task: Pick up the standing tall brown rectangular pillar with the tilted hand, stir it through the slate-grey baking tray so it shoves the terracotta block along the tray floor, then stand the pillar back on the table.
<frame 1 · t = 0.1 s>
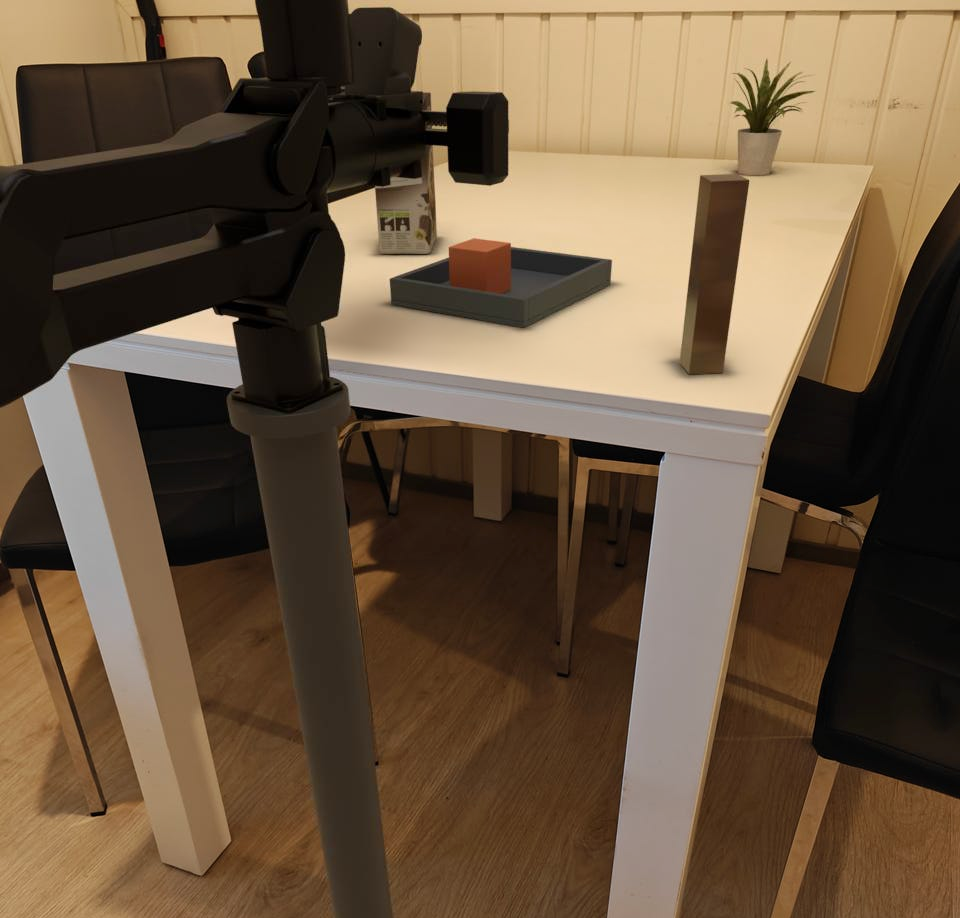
hand: (462, 123, 79), 16 cm above the table, tool horizontal, fingers open, 9 cm apart
house plant: (751, 175, 152), on the table
tray: (503, 294, 93), on the table
tall brown rectangular pillar: (700, 368, 74), on the table
block: (480, 291, 92), resting on tray
coffee box: (409, 248, 112), on the table
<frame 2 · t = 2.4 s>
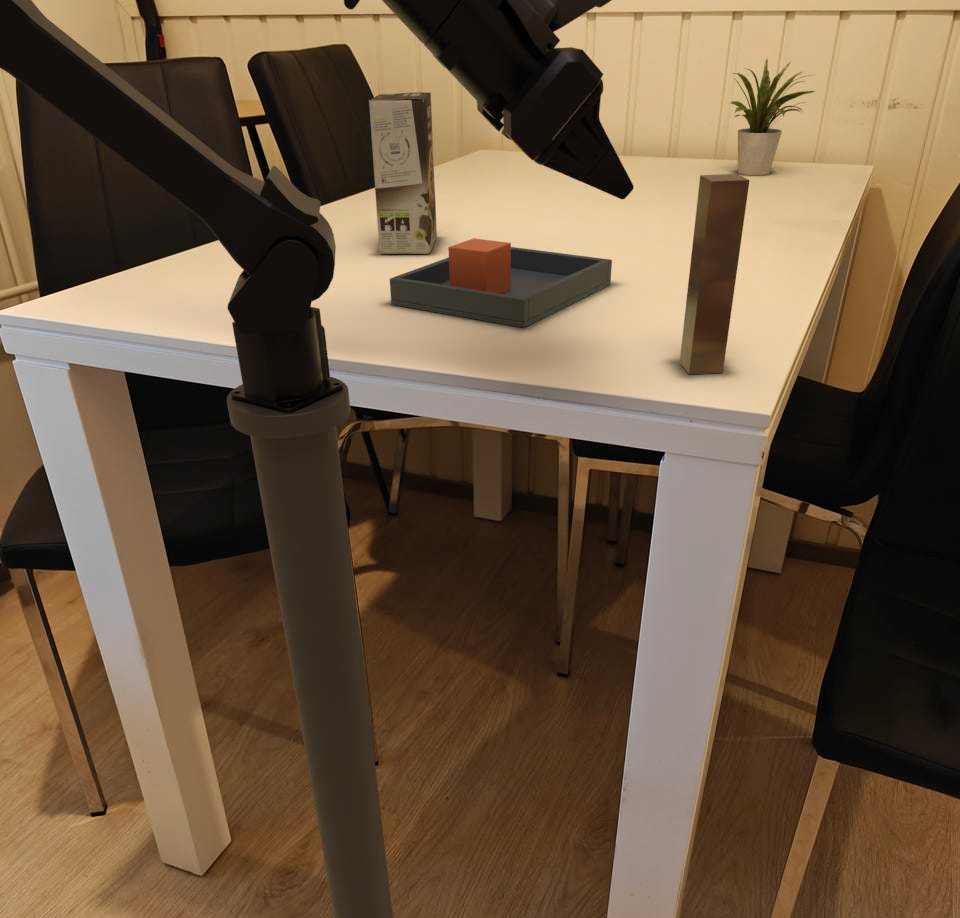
hand: (612, 182, 66), 14 cm above the table, tool tilted 45°, fingers open, 9 cm apart
nothing on the table moved.
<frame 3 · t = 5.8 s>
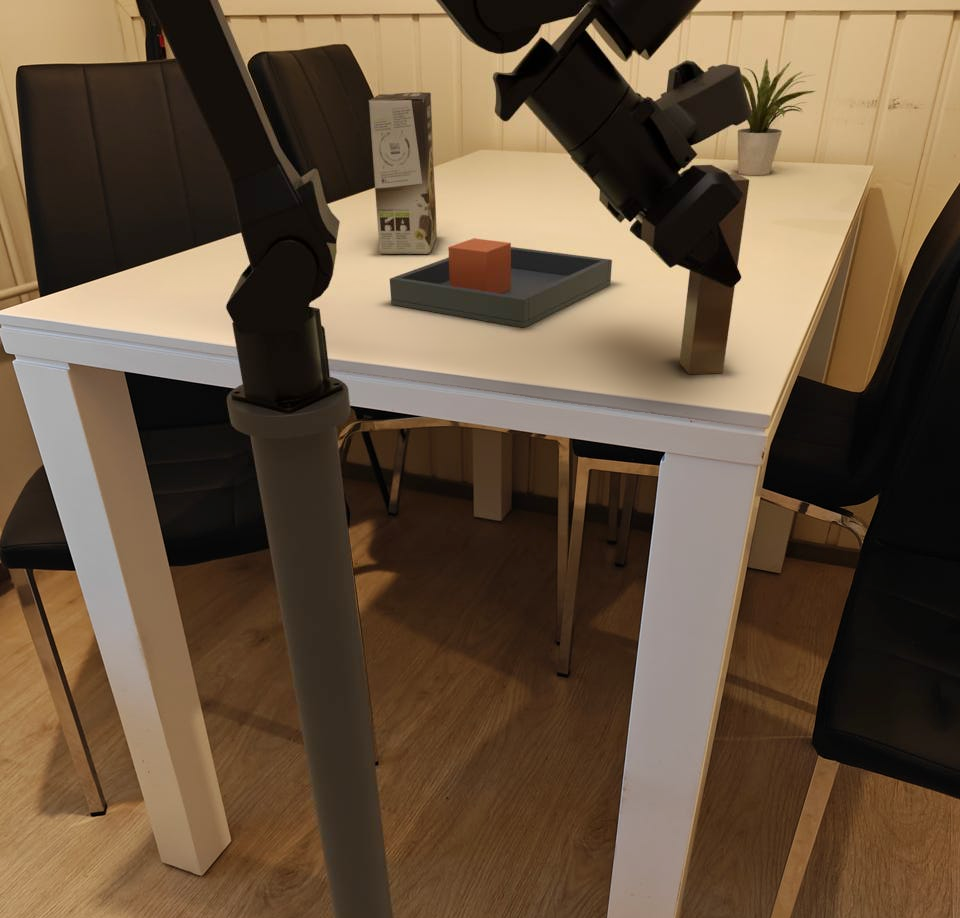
hand: (729, 277, 70), 7 cm above the table, tool tilted 45°, fingers closed on tall brown rectangular pillar, 3 cm apart
tall brown rectangular pillar: (700, 368, 74), on the table, touching gripper
everything else where it was.
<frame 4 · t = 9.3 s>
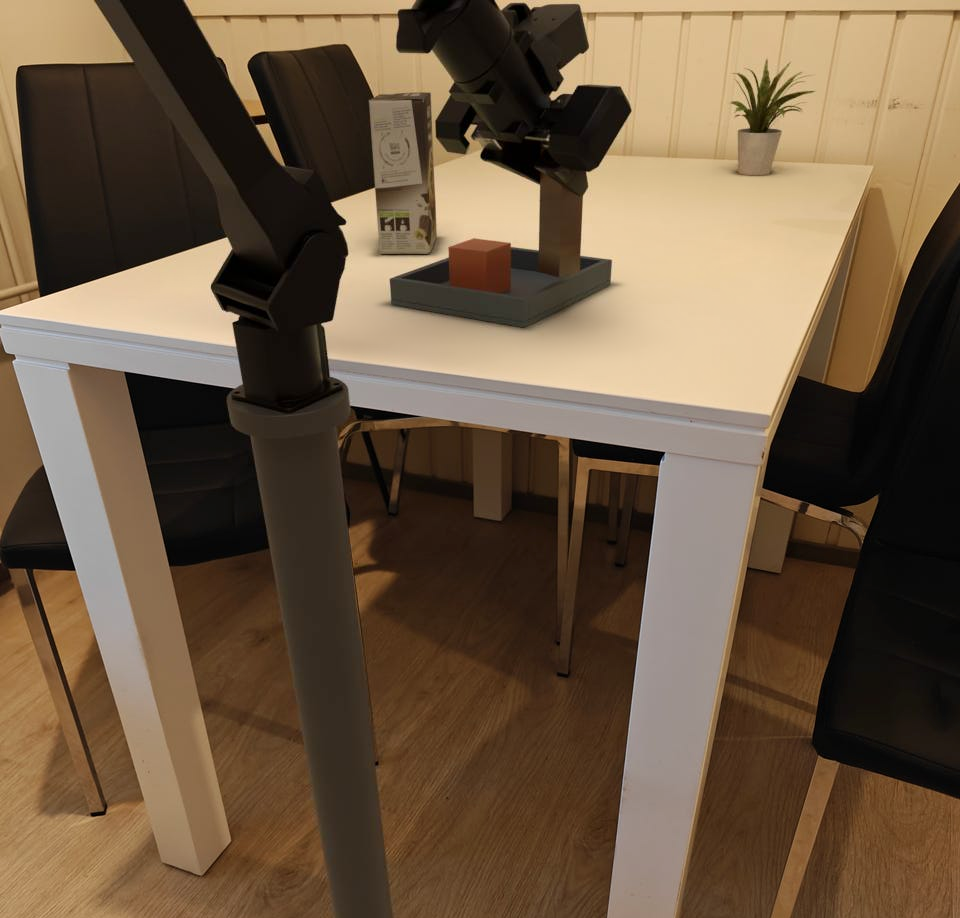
hand: (571, 189, 83), 10 cm above the table, tool tilted 45°, fingers closed on tall brown rectangular pillar, 3 cm apart
tall brown rectangular pillar: (558, 272, 86), point 4 cm above the table, touching gripper
everything else where it was.
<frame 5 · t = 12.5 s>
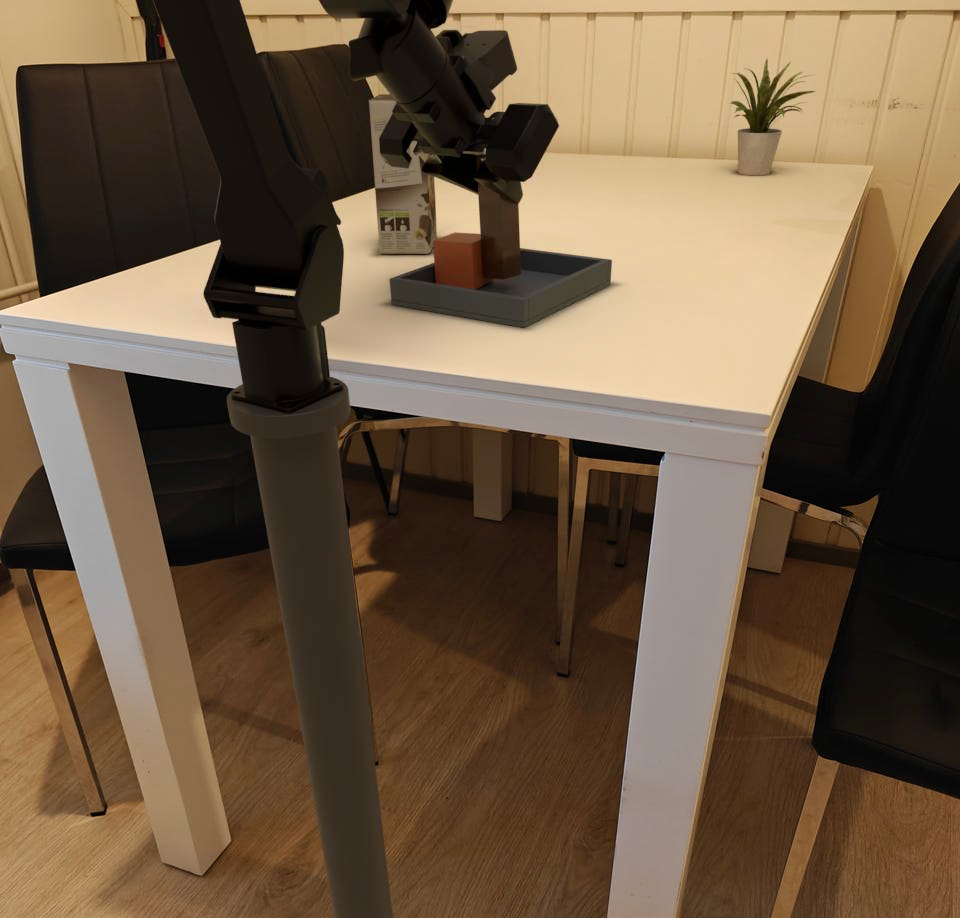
hand: (507, 198, 90), 9 cm above the table, tool tilted 45°, fingers closed on tall brown rectangular pillar, 3 cm apart
tall brown rectangular pillar: (502, 276, 93), point 2 cm above the table, touching block, gripper
block: (465, 283, 95), point 1 cm above the table, touching tall brown rectangular pillar, tray
everything else where it was.
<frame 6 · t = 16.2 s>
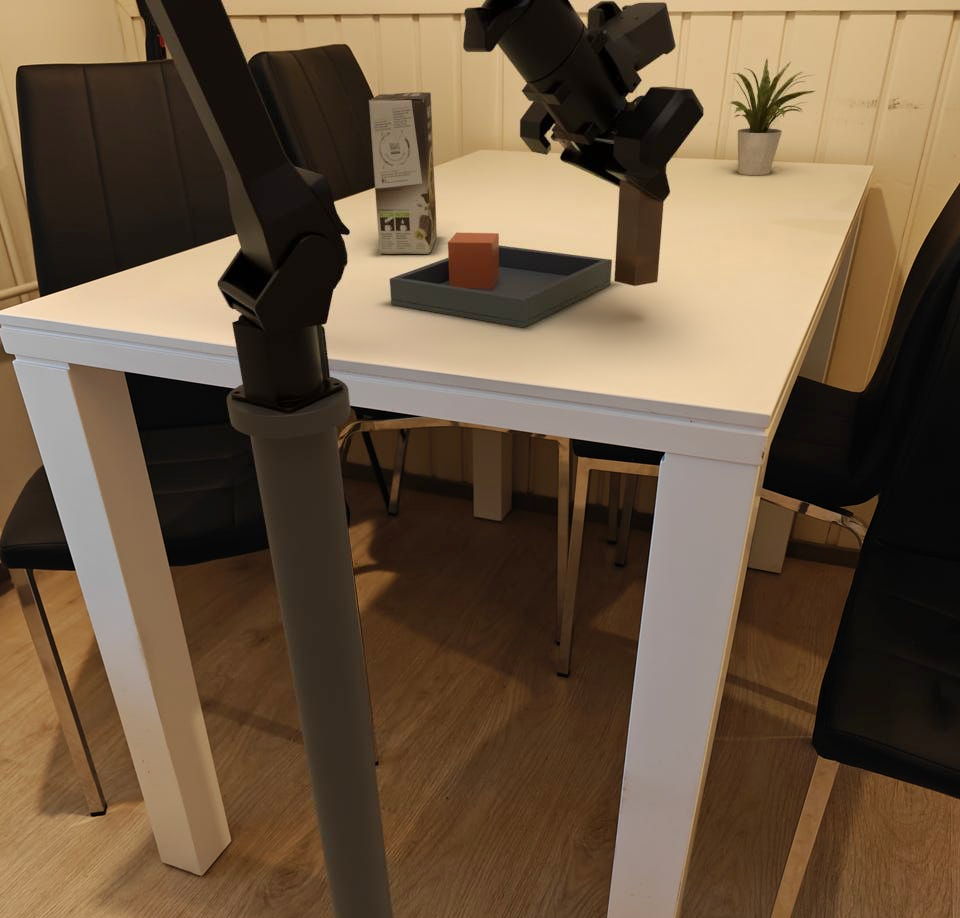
hand: (654, 194, 80), 10 cm above the table, tool tilted 45°, fingers closed on tall brown rectangular pillar, 3 cm apart
tall brown rectangular pillar: (635, 281, 83), point 3 cm above the table, touching gripper
block: (474, 283, 95), resting on tray
everything else where it was.
when the fingers open (7 cm above the table, at t = 19.3 s): tall brown rectangular pillar stays where it is, on the table.
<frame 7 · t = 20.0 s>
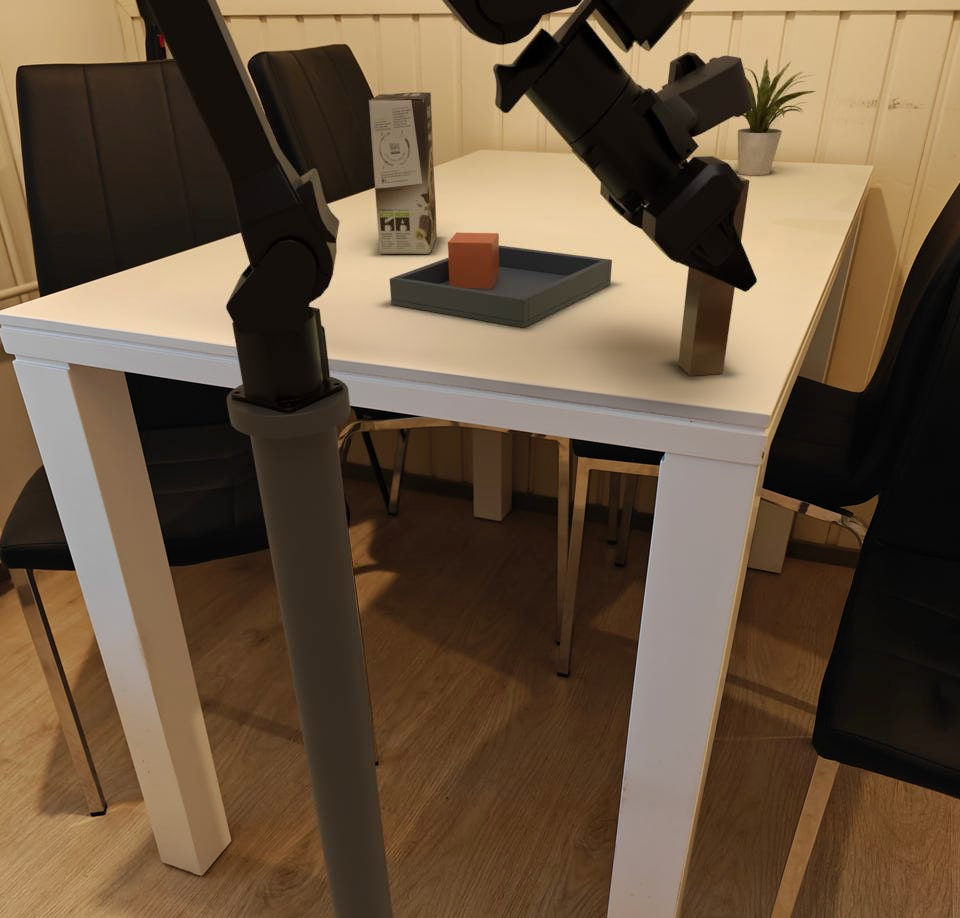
hand: (731, 271, 70), 7 cm above the table, tool tilted 45°, fingers open, 9 cm apart
tall brown rectangular pillar: (700, 369, 74), on the table
everything else where it was.
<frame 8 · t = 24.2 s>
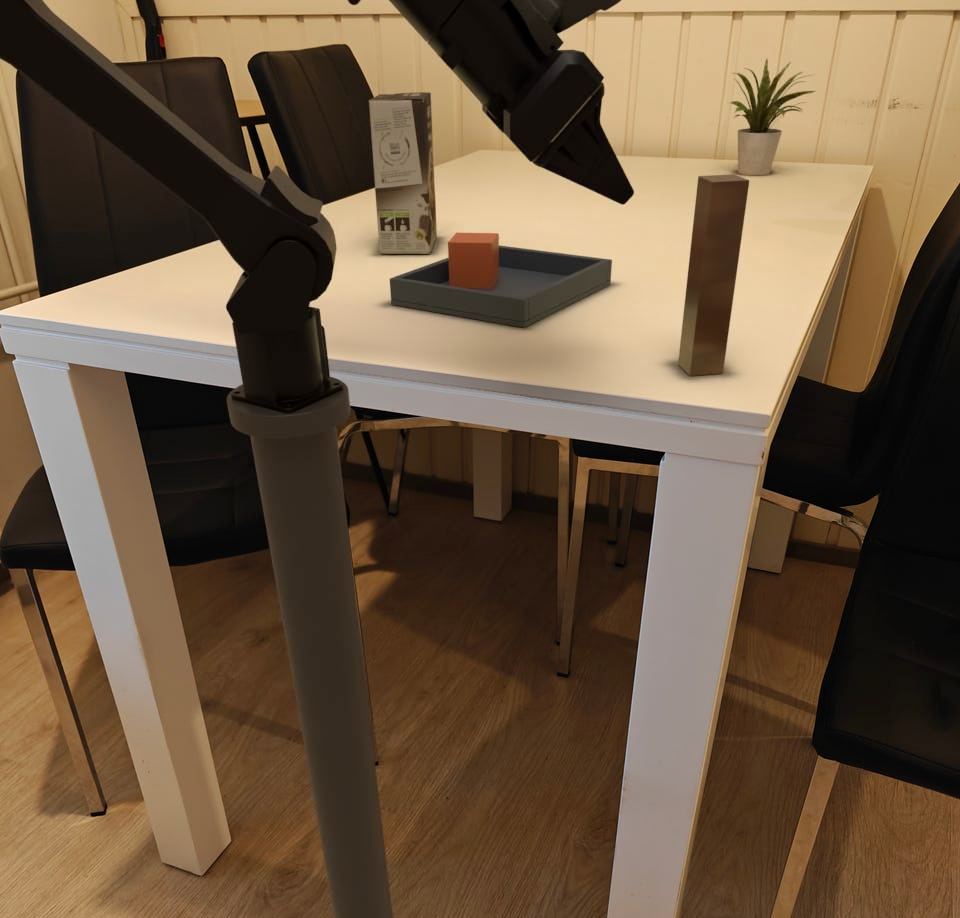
hand: (614, 187, 65), 14 cm above the table, tool tilted 45°, fingers open, 9 cm apart
nothing on the table moved.
at the end: block moved 3.5 cm from its start; block inside the target area in the tray (3.9 cm from its centre), point 0.5 cm above the tray's base; tall brown rectangular pillar tilted 0° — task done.
